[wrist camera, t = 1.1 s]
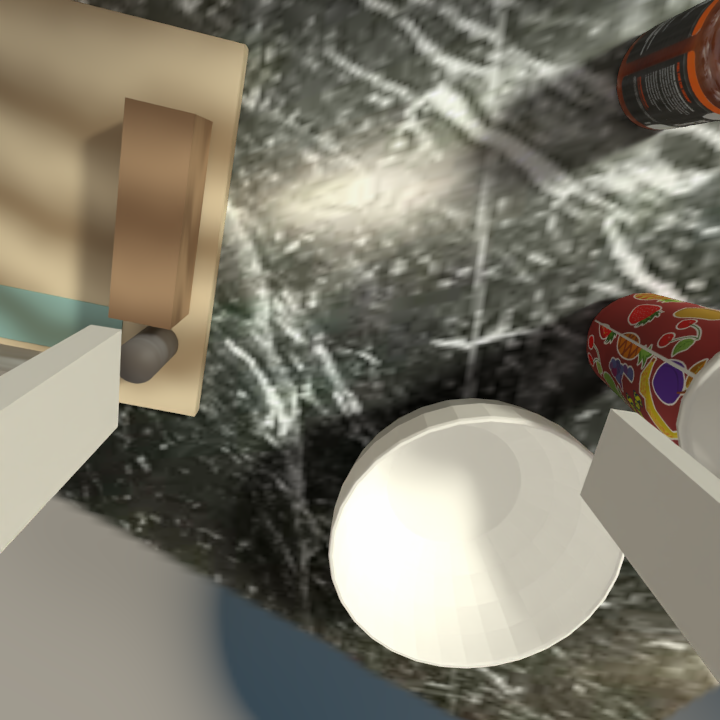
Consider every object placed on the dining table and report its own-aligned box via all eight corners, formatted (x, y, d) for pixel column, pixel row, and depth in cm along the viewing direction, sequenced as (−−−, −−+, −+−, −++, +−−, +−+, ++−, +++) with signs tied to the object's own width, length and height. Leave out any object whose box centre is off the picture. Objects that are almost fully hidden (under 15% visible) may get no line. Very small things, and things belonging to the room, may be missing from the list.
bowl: (356, 595, 45) (358, 689, 37) (308, 392, 39) (298, 449, 31) (579, 558, 45) (632, 644, 36) (564, 345, 39) (624, 390, 30)
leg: (188, 314, 36) (169, 329, 32) (133, 302, 35) (108, 317, 31) (212, 121, 32) (194, 113, 28) (151, 107, 32) (124, 97, 28)
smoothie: (548, 372, 39) (740, 552, 20) (597, 262, 37) (868, 350, 18) (650, 402, 40) (923, 602, 21) (704, 297, 38) (1070, 417, 19)
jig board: (-68, -31, 30) (-155, -76, 25) (248, 49, 32) (229, 23, 27) (-58, 361, 38) (-124, 391, 32) (198, 409, 39) (175, 445, 34)
